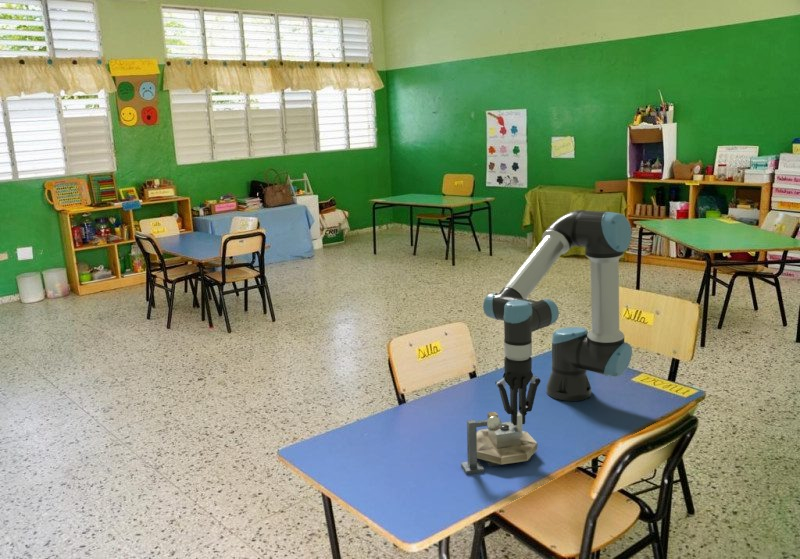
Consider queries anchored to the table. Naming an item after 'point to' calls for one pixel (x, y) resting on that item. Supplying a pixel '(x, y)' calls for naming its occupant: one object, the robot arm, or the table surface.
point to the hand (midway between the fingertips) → (518, 434)
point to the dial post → (473, 463)
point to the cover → (505, 435)
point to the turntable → (504, 448)
